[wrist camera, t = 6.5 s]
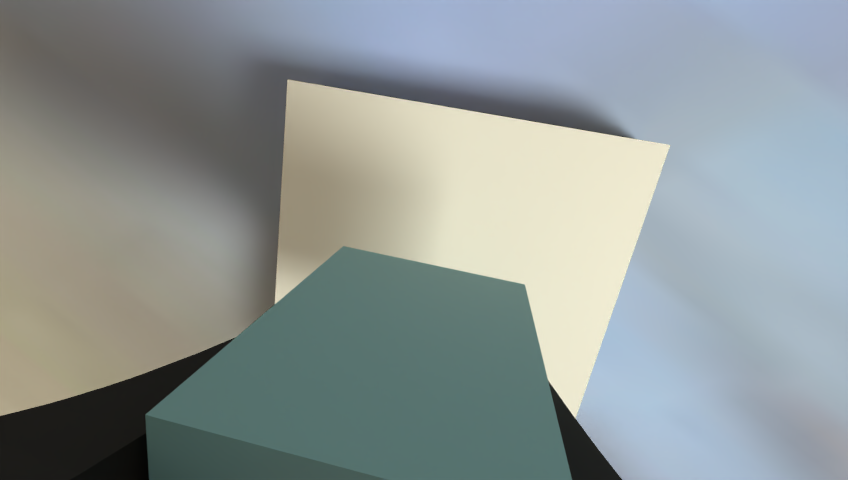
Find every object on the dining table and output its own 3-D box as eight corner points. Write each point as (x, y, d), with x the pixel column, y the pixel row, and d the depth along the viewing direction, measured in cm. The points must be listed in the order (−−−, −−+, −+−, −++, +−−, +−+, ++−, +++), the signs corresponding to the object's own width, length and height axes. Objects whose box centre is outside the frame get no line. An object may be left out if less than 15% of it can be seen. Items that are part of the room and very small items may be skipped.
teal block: (524, 284, 9) (584, 531, 4) (484, 434, 11) (482, 785, 5) (343, 245, 10) (144, 414, 4) (327, 395, 11) (161, 677, 5)
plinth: (638, 141, 14) (669, 144, 12) (551, 414, 18) (561, 459, 15) (318, 86, 15) (287, 79, 13) (297, 353, 19) (270, 386, 16)
